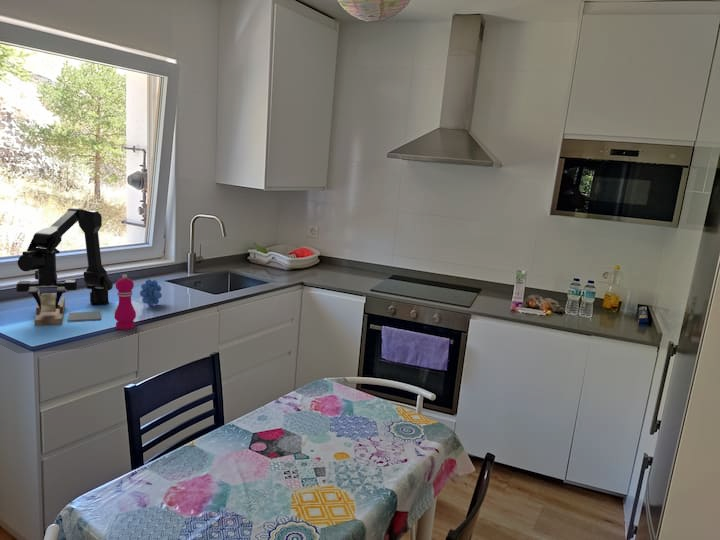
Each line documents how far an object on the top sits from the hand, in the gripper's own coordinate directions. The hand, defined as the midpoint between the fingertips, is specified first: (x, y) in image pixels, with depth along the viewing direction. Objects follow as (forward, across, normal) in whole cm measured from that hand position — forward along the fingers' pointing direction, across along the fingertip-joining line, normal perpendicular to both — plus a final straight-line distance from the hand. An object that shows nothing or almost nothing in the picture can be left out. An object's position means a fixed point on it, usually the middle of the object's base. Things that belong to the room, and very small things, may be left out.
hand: (48, 308), depth 189 cm
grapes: (+5, -37, -14) cm, 40 cm away
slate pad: (+5, -12, -4) cm, 13 cm away
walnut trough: (+5, 0, -8) cm, 10 cm away
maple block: (+1, 0, -1) cm, 1 cm away
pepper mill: (+5, -25, +14) cm, 29 cm away
